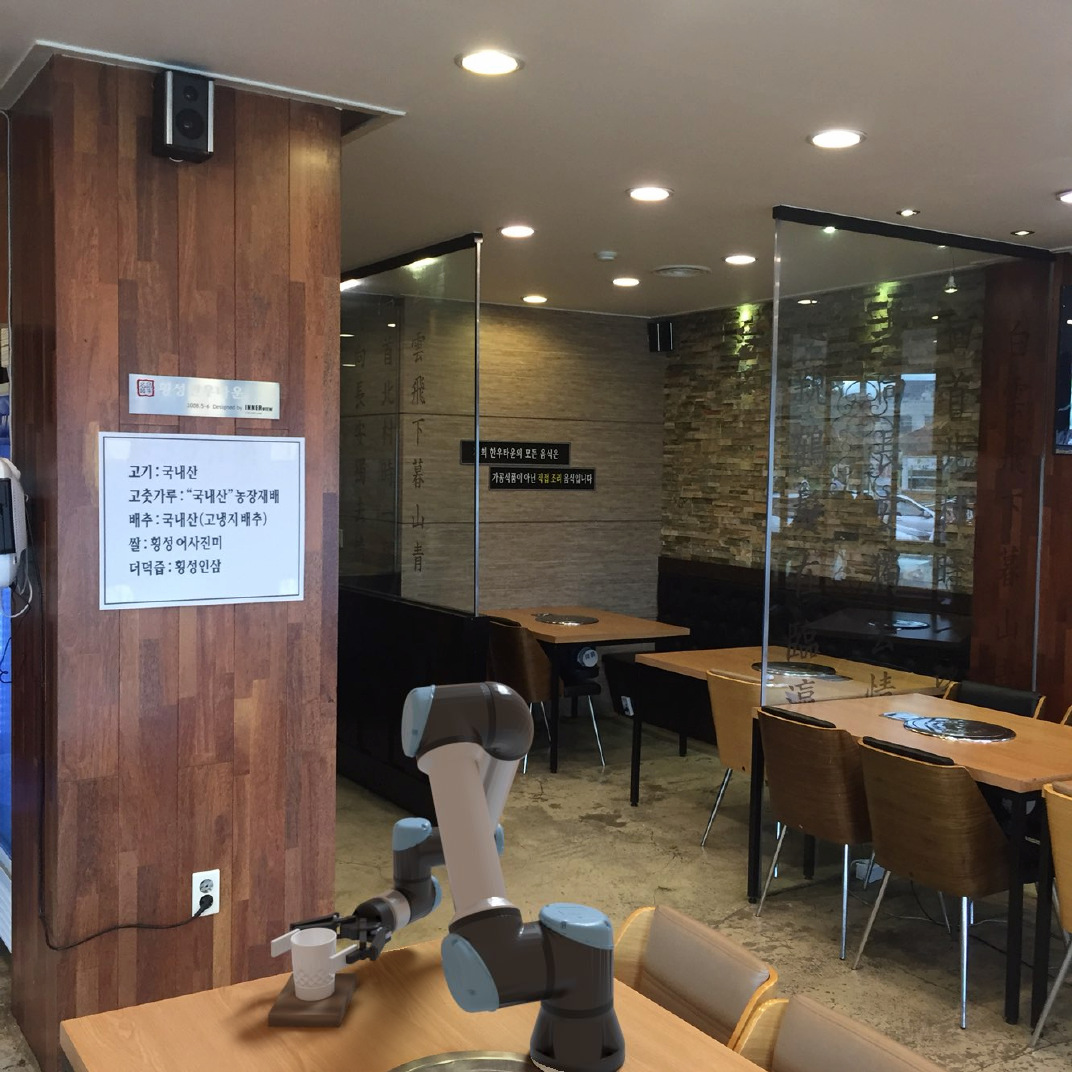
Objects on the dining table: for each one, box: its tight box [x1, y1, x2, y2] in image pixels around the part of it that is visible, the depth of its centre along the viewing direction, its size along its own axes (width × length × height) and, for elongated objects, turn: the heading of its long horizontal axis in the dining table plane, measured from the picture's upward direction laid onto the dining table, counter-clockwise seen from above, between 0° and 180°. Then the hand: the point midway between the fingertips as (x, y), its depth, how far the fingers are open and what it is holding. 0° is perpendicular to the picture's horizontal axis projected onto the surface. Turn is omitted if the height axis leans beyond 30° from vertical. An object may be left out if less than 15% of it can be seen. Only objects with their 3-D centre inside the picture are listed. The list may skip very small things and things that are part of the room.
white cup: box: [290, 928, 337, 1001], centre depth 192 cm, size 8×8×10 cm
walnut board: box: [267, 972, 359, 1028], centre depth 192 cm, size 16×12×2 cm
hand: (300, 957), depth 189 cm, fingers open, 13 cm apart
